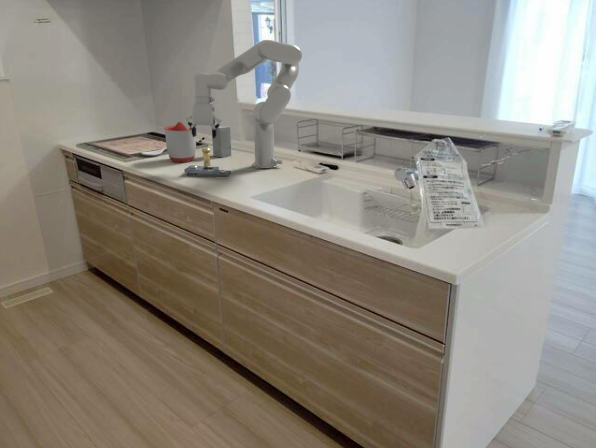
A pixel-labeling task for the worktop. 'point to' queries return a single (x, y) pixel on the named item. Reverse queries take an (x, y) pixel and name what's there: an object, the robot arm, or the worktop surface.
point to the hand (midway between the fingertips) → (204, 137)
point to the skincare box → (222, 142)
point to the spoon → (153, 152)
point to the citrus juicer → (180, 143)
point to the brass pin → (206, 156)
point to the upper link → (200, 170)
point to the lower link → (216, 174)
